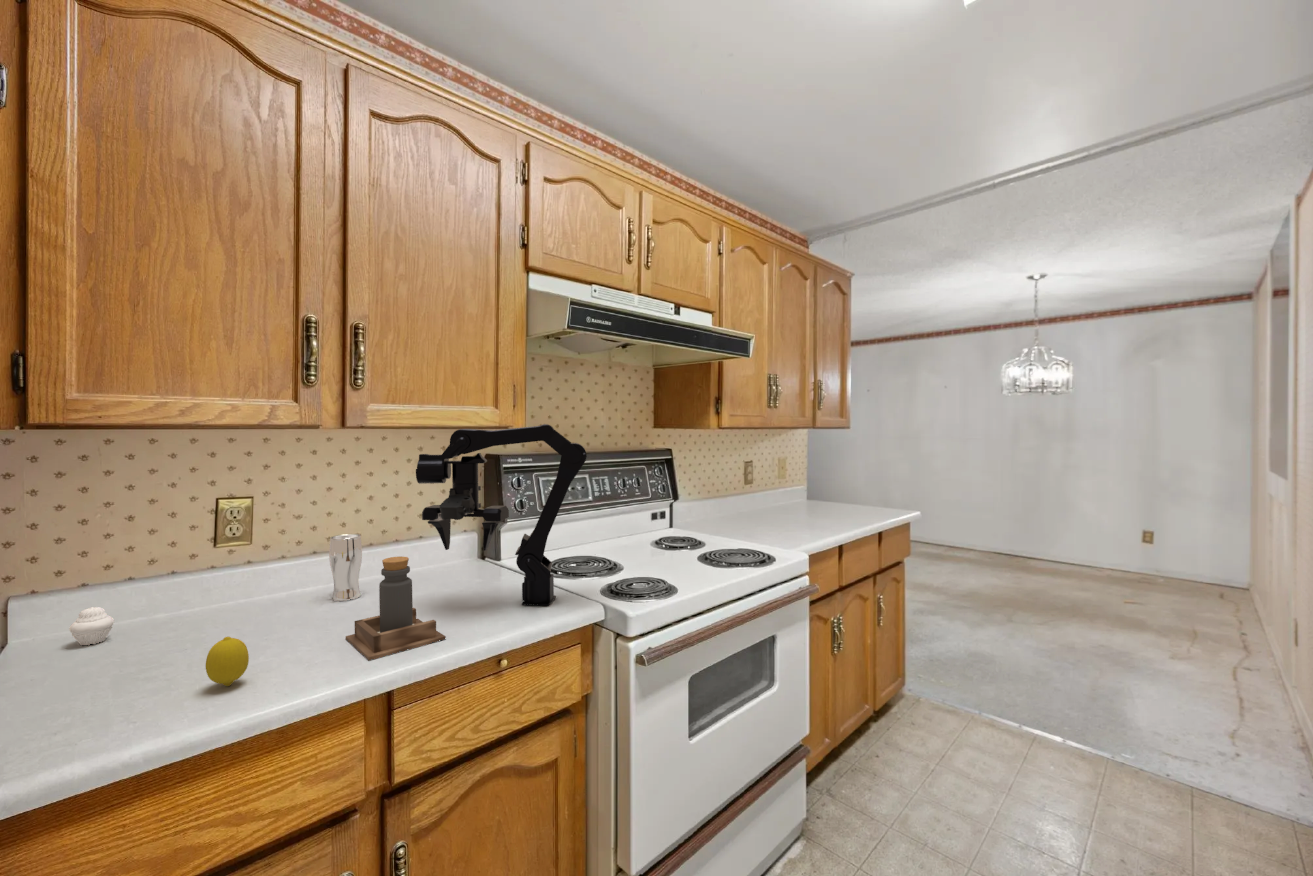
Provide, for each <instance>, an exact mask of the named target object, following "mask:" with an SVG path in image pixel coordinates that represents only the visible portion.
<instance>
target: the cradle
mask: <svg viewBox="0 0 1313 876" xmlns="http://www.w3.org/2000/svg"><path fill="white" fill-rule="evenodd" d="M412 608H413V625H410V626H406V627H402V628H398V629H394V630H390V631H386V632H382V633H380V614H379V615H375V616H371V617H367V618H363V619H357V620H354V633H353V634H348V635H345V640H346V641H347V640H348V641H347V642H348V643H349V642H350V643H351V644H352V645H353V646H354V647H353V646H352V645H351V644H350V643H349V644H350V645H351V646H352V647H353V648H354V649H355V650H356V651H358V652H359V651H360V652H359V653H360V654H361V653H362V654H361V655H362V656H363V655H364V656H365V657H366V658H367V659H368V660H367V659H366V658H365V657H364V656H363V657H364V658H365V659H366V660H367V661H369V660H370V661H372V660H371V659H373V660H377V659H380V658H383V656H384V657H387V656H386V655H388V656H391V655H393V654H392V653H395V654H398V653H400V652H399V651H402V652H405V650H406V651H408V650H407V649H409V650H412V648H413V649H415V648H420V647H423V646H427V645H430V643H431V644H433V643H432V642H434V643H438V642H440V641H439V640H442V641H444V640H443V639H445V638H447V637H446V635H444V634H443V633H441V632H440V631H438V630H437V621H436V620H435V619H431V620H426V621H422V620H420V619H419V618H417V609H416V607H412ZM445 640H446V639H445ZM437 641H438V642H437ZM426 644H427V645H426ZM397 652H398V653H397ZM390 654H391V655H390ZM379 657H380V658H379Z"/></svg>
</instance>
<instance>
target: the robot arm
mask: <svg viewBox="0 0 1313 876" xmlns="http://www.w3.org/2000/svg"><path fill="white" fill-rule="evenodd" d="M532 442H533V443H534V442H544V443H545V444H547V445H548V446H549V447H550V448H551V449H553V450H554V451H555V452H556V453H558V454H559V455H560V460H559V465H558V469H557V473H556V478H555V480H554V483H553V485H552V487H551V490H550V492H549V494H548V496H547V499H546V501H545V503H544V505H543V509H542V511H541V512H540V515H539V517H538V519H537V521H536V524H535V527H534V528H533V530H532V532H531V533H530V534H529V535H528V534H527V533H523V536H522V538H521V540H520V541H521V542H520V546H518V547H517V550H516V551H515V554H514V555H515V556H517V557H516V561H515V563H516V566H517V568H518V569H519V570H520V571H521V572H522V573H524V575H525V576H523V582H522V583H521V600H522V602H521V605H522V606H536V607H537V606H540V607H541V606H542V607H549V606H550V605H551V604H552V603H553V602H554V600H556V598H557V595H555V593H554V590H555V587H554V586H555V585H554V584H555V582H554V578H555V577H554V574H553V573H551V572H552V565H553V562H552V561H551V560H550V559H549V558H547V556H545V555H544V554H545V550H546V545H547V540H548V537H549V534H550V532H551V529H552V527H553V525H554V523H555V520H556V518H557V515H558V514H559V511H560V509H561V506H562V504H563V501H564V500H565V498H566V495H567V492H568V490H569V488H570V486H571V483H572V482H573V480H574V479H575V478H576V476H577V475H578V473H579V472H580V470H581V468H582V467H583V466H584V464H585V462H586V460H587V455H588V454H587V451H586V449H585V447H584V446H583V445H582V444H580V443H578V442H571V441H570V440H568V439H567V438H566V437H565V436H564V435H562V434H561V433H560V432H558V431H557V430H556V429H555V428H554V427H553V426H552V425H551V424H548V423H544V424H541V425H536V426H535V425H533V426H527V427H526V426H525V427H515V428H506V429H498V430H497V429H495V430H491V429H490V430H488V429H475V428H459V429H457V430H455V431H454V432H453V433H452V434H451V436H450V438H449V444H448V446H447V447H446V448H445V450H444V451H443V453H442V454H430V453H429V454H428V453H420V454H418V461H417V464H416V468H415V476H416V477H415V478H416V482H417V483H418V484H419V485H422V484H423V485H424V484H446V481H447V480H448V479H449V480H450V478H451V477H452V478H451V479H452V487H450V488H449V491H448V492H449V494H448V497H447V498H445V499H444V500H443V501H442V502H441V503H440V504H433V505H430V506H426V507H424V508H423V509H422V513H421V520H422V521H427V523H428V525H432V526H433V527H435V529H436V530H437V532H438V535H439V537H440V540H441V543H442V545H443V547H444V549H445V550H446V551H447V550H450V545H451V523H452V522H451V521H452V520H455V521H460V520H462V519H463V518H464V517H465V518H483V519H484V521H482V522H481V524H482V527H483V539H482V546H483V547H482V549H483V551H487V550H488V548H489V545H490V544H491V540H492V538H493V535H494V534H495V531H496V529H497V527H498V526H499V524H500V523H502V522H504V520H505V519H507V518H510V513H509V512H510V510H509V508H508V507H507V505H491V506H488V507H485V508H482V503H480V502H479V491H481V490H482V489H481V485H479V464H485V463H487V462H488V460H487V459H486V458H485V457H484V456H483V455H482V453H481V452H478V451H481V450H484V449H488V448H492V447H496V446H497V447H498V446H507V445H516V444H525V443H532ZM474 452H477V453H476V454H475V455H472V456H471V455H469V456H468V455H467V454H471V453H474ZM460 455H461V456H462V455H463V456H462V457H461V458H460V459H461V460H450V459H454V458H458V457H460ZM464 455H465V456H464ZM451 475H452V476H451Z"/></svg>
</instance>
